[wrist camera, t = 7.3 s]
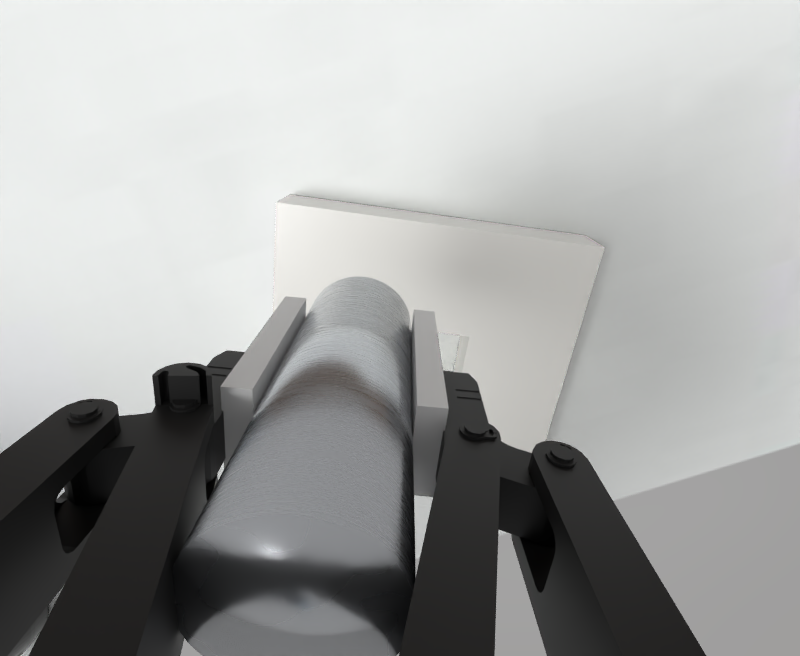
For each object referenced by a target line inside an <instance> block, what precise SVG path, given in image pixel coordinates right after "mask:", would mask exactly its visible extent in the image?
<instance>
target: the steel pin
mask: <svg viewBox="0 0 800 656" xmlns="http://www.w3.org/2000/svg"><path fill="white" fill-rule="evenodd" d="M172 576H173V585H174V594H175V603H176V611H177V620H178V629H179V631H180V633H181V634H182V635H183V637H184V638H185V639H186V640H187V642H188V643H189V644H190V645H191V646H192V647H193V648H194V649H195V650H197V651H198V652H199V653H200V654H201V655H203V656H396V655H397V654H398V653H399V652H400V649H401V644H402V639H403V635H404V630H405V626H406V621H407V616H408V612H409V607H410V602H411V598H412V593H413V589H414V584H415V579H416V578H415V525H414V471H413V426H412V371H411V321H410V315H409V311H408V309H407V306H406V304H405V303H404V301H403V299H402V298H401V297H400V295H399V294H398V293H397V292H396V291H395V290H394V289H392V288H391V287H390V286H388V285H387V284H385V283H383V282H381V281H379V280H376V279H373V278H368V277H358V276H356V277H348V278H343V279H341V280H338V281H336V282H334V283H332V284H330V285H329V286H327V287H326V288H325V289H324V290H323V291H322V292H321V293H320V294H319V295H318V296H317V298H316V299H315V301H314V303H313V305H312V307H311V309H310V310H309V312H308V314H307V316H306V318H305V320H304V322H303V323H302V325H301V327H300V329H299V331H298V333H297V335H296V337H295V338H294V340H293V342H292V344H291V346H290V348H289V350H288V351H287V353H286V355H285V357H284V359H283V361H282V363H281V365H280V366H279V368H278V370H277V372H276V374H275V376H274V378H273V380H272V381H271V383H270V385H269V387H268V389H267V391H266V393H265V394H264V396H263V398H262V400H261V402H260V404H259V406H258V408H257V409H256V411H255V413H254V415H253V417H252V419H251V421H250V422H249V424H248V426H247V428H246V430H245V432H244V434H243V436H242V437H241V439H240V441H239V443H238V445H237V447H236V449H235V450H234V452H233V454H232V456H231V458H230V460H229V462H228V464H227V465H226V467H225V469H224V471H223V473H222V475H221V477H220V479H219V480H218V482H217V484H216V486H215V488H214V490H213V492H212V493H211V495H210V497H209V499H208V501H207V503H206V505H205V507H204V508H203V510H202V512H201V514H200V516H199V518H198V520H197V521H196V523H195V525H194V527H193V529H192V531H191V533H190V535H189V536H188V538H187V540H186V542H185V544H184V546H183V548H182V549H181V551H180V553H179V555H178V557H177V559H176V561H175V563H174V564H173V566H172Z"/></svg>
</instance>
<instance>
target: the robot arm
mask: <svg viewBox="0 0 800 656" xmlns="http://www.w3.org/2000/svg"><path fill="white" fill-rule="evenodd" d="M305 318H306V298H298V297H289V296H285V298H284V299H283V300H282V302H281V303H280V305H279V306H278V307H277V309H276V310H275V311H274V313H273V314H272V316H271V317H270V318H269V320H268V321H267V323H266V324H265V325H264V327H263V328H262V329H261V331H260V332H259V334H258V335H257V336H256V338H255V339H254V341H253V342H252V343H251V345H250V346H249V347H248V349H247V350H246V352H237V351H225V352H223V353H221V354H219V355H217V356H216V357H214V358H213V359H212V360H211V361H210V363H209V364H208V365H207V366H204V365H201V364H196V363H179V364H174V365H170V366H166V367H164V368H162V369H160V370H158V371H157V372H156V373H155V374H153V375H152V377H153V386H154V395H155V404H156V406H155V408H154V410H153V412H152V413H146V414H137V415H126V416H119V413H118V407H117V405H116V404H115V403H113V402H112V401H108V400H104V399H86V400H81V401H77V402H75V403H72V404H69V405H66V406H65V407H63V408H61V409H59V410H58V411H56V412H55V413H53V414H52V415H51V416H49V417H48V418H47V419H45V420H44V421H43V422H42V423H40V424H39V425H38V426H36V427H35V428H34V429H32V430H31V431H30V432H28V433H27V434H26V435H24V436H23V437H22V438H20V439H19V440H18V441H16V442H15V443H14V444H12V445H11V446H10V447H9V448H7V449H6V450H5V451H3V452H2V453H1V454H0V656H20V655H22V654H23V653H24V652H25V651H26V649H27V648H28V647H29V646H30V645H31V643H32V642H33V641H34V639H35V638H36V637H37V635H38V634H39V633H40V634H39V636H38V638H37V640H36V642H35V644H34V646H33V648H32V650H31V652H30V654H29V656H180V654H181V649H182V646H183V641H184V637H183V635H182V634H181V633H180V631H179V629H178V620H177V611H176V603H175V594H174V585H173V576H172V566H173V564H174V563H175V561H176V559H177V557H178V555H179V553H180V551H181V549H182V548H183V546H184V544H185V542H186V540H187V538H188V536H189V535H190V533H191V531H192V529H193V527H194V525H195V523H196V521H197V520H198V518H199V516H200V514H201V512H202V510H203V508H204V507H205V505H206V503H207V501H208V499H209V497H210V495H211V493H212V492H213V490H214V488H215V486H216V484H217V482H218V478H217V473H218V471H219V469H220V467H221V465H222V464H223V462H224V469H225V467H226V465H227V464H228V462H229V460H230V458H231V456H232V454H233V452H234V450H235V449H236V447H237V445H238V443H239V441H240V439H241V437H242V436H243V434H244V432H245V430H246V428H247V426H248V424H249V422H250V421H251V419H252V417H253V415H254V413H255V411H256V409H257V408H258V406H259V404H260V402H261V400H262V398H263V396H264V394H265V393H266V391H267V389H268V387H269V385H270V383H271V381H272V380H273V378H274V376H275V374H276V372H277V370H278V368H279V366H280V365H281V363H282V361H283V359H284V357H285V355H286V353H287V351H288V350H289V348H290V346H291V344H292V342H293V340H294V338H295V337H296V335H297V333H298V331H299V329H300V327H301V325H302V323H303V322H304V320H305ZM411 371H412V426H413V471H414V495H419V496H430V497H433V501H432V505H431V510H430V515H429V519H428V524H427V528H426V533H425V538H424V542H423V547H422V552H421V556H420V561H419V565H418V570H417V575H416V579H415V584H414V589H413V593H412V598H411V602H410V607H409V612H408V616H407V621H406V626H405V630H404V635H403V639H402V644H401V649H400V653H399V656H494V650H495V618H496V615H495V614H496V586H497V554H498V529H499V530H502V531H505V532H508V533H511V534H512V541H513V545H514V548H515V551H516V554H517V558H518V561H519V564H520V568H521V571H522V574H523V578H524V581H525V584H526V588H527V591H528V594H529V597H530V601H531V604H532V607H533V610H534V614H535V617H536V620H537V624H538V627H539V630H540V634H541V637H542V640H543V644H544V647H545V650H546V654H547V656H706V655H705V653H704V651H703V650H702V648H701V646H700V645H699V643H698V641H697V640H696V638H695V637H694V635H693V633H692V631H691V630H690V628H689V626H688V625H687V623H686V622H685V620H684V618H683V616H682V615H681V613H680V611H679V610H678V608H677V607H676V605H675V603H674V602H673V600H672V598H671V597H670V595H669V593H668V592H667V590H666V588H665V587H664V585H663V583H662V582H661V580H660V578H659V577H658V575H657V573H656V572H655V570H654V568H653V567H652V565H651V563H650V562H649V560H648V559H647V557H646V555H645V553H644V552H643V550H642V549H641V547H640V545H639V543H638V542H637V540H636V538H635V537H634V535H633V533H632V532H631V530H630V529H629V527H628V525H627V524H626V522H625V520H624V519H623V517H622V516H621V514H620V512H619V510H618V509H617V507H616V505H615V504H614V502H613V500H612V499H611V497H610V495H609V494H608V492H607V490H606V489H605V487H604V485H603V484H602V482H601V480H600V479H599V477H598V475H597V474H596V472H595V470H594V469H593V467H592V465H591V464H590V462H589V460H588V459H587V458H586V457H585V456H584V455H583V453H581V452H580V451H578V450H577V449H575V448H574V447H572V446H570V445H568V444H565V443H562V442H555V441H543V442H540V443H538V444H536V445H535V447H534V448H533V451H532V453H530V452H527V451H524V450H520V449H517V448H514V447H512V446H509V445H507V444H505V443H504V442H502V441H501V436H500V433H499V431H498V430H497V429H496V428H495V427H494V426H493V425H491V424H489V423H488V419H487V415H486V412H485V408H484V404H483V401H482V397H481V394H480V390H479V386H478V383H477V381H476V380H475V379H474V378H473V377H472V376H471V375H470V374H469V373H460V372H450V371H443V367H442V360H441V353H440V347H439V340H438V333H437V326H436V320H435V313H434V311H424V310H415V309H414V312H413V320H412V328H411ZM63 487H64V489H65V492H64V493H63V494H62V495H61V496H60V497H59V498H58V499H57V496H58V494H59V493H60V491H61V490H62V489H63ZM64 584H65V585H64ZM63 586H64V587H63ZM62 587H63V589H62V591H61V593H60V595H59V597H58V599H57V601H56V603H55V605H54V607H53V609H52V611H51V613H50V615H49V617H48V604H49V603H50V602H51V601H52V599H53V598H54V597H55V596H56V594H57V593H58V592H59V591H60V589H61V588H62ZM47 618H48V619H47ZM42 628H43V629H42ZM41 630H42V631H41ZM40 631H41V632H40Z"/></svg>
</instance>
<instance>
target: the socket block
mask: <svg viewBox="0 0 800 656" xmlns="http://www.w3.org/2000/svg"><path fill="white" fill-rule="evenodd" d="M604 249H605V247H603V246H602V245H600V244H598V243H597V242H595V241H594V240H592V239H591V238H589V237H587V236H586V235H579V234H572V233H565V232H558V231H551V230H543V229H536V228H529V227H522V226H514V225H507V224H500V223H493V222H486V221H478V220H471V219H464V218H457V217H449V216H442V215H435V214H428V213H421V212H413V211H406V210H399V209H392V208H384V207H377V206H370V205H363V204H356V203H348V202H341V201H334V200H327V199H319V198H312V197H305V196H298V195H288V196H286V197H284V198H283V199H281V200H279V201H277V202H276V215H275V251H274V286H273V313H274V311H275V310H276V309H277V307H278V306H279V305H280V303H281V302H282V300H283V299H284V298H285V296H289V297H298V298H306V316H307V314H308V312H309V310H310V309H311V307H312V305H313V303H314V301H315V299H316V298H317V296H318V295H319V294H320V293H321V292H322V291H323V290H324V289H325V288H326V287H327V286H329V285H330V284H332V283H334V282H336V281H338V280H341V279H343V278H348V277H356V276H358V277H368V278H373V279H376V280H379V281H381V282H383V283H385V284H387V285H388V286H390V287H391V288H392V289H394V290H395V291H396V292H397V293H398V294H399V295H400V297H401V298H402V299H403V301H404V303H405V304H406V306H407V309H408V311H409V315H410V321H411V328H412V320H413V312H414V309H415V310H424V311H434V313H435V320H436V326H437V333H444V334H451V335H459V336H460V340H459V345H458V350H457V355H456V360H455V365H454V370H453V372H460V373H469V374H470V375H471V376H472V377H473V378H474V379H475V380H476V381H477V383H478V386H479V390H480V394H481V397H482V401H483V404H484V408H485V412H486V415H487V419H488V423H489V424H491V425H493V426H494V427H495V428H496V429H497V430H498V431H499V433H500V436H501V441H502V442H504V443H505V444H507V445H509V446H512V447H514V448H517V449H520V450H524V451H527V452H530V453H532V451H533V448H534V447H535V445H536V444H538V443H540V442H543V441H546V438H547V435H548V431H549V428H550V425H551V422H552V418H553V415H554V412H555V409H556V405H557V402H558V399H559V396H560V392H561V389H562V386H563V383H564V379H565V376H566V373H567V370H568V366H569V363H570V360H571V357H572V353H573V350H574V347H575V344H576V340H577V337H578V334H579V331H580V327H581V324H582V321H583V318H584V314H585V311H586V308H587V304H588V301H589V298H590V295H591V291H592V288H593V285H594V282H595V278H596V275H597V272H598V269H599V265H600V262H601V259H602V256H603V252H604Z"/></svg>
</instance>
